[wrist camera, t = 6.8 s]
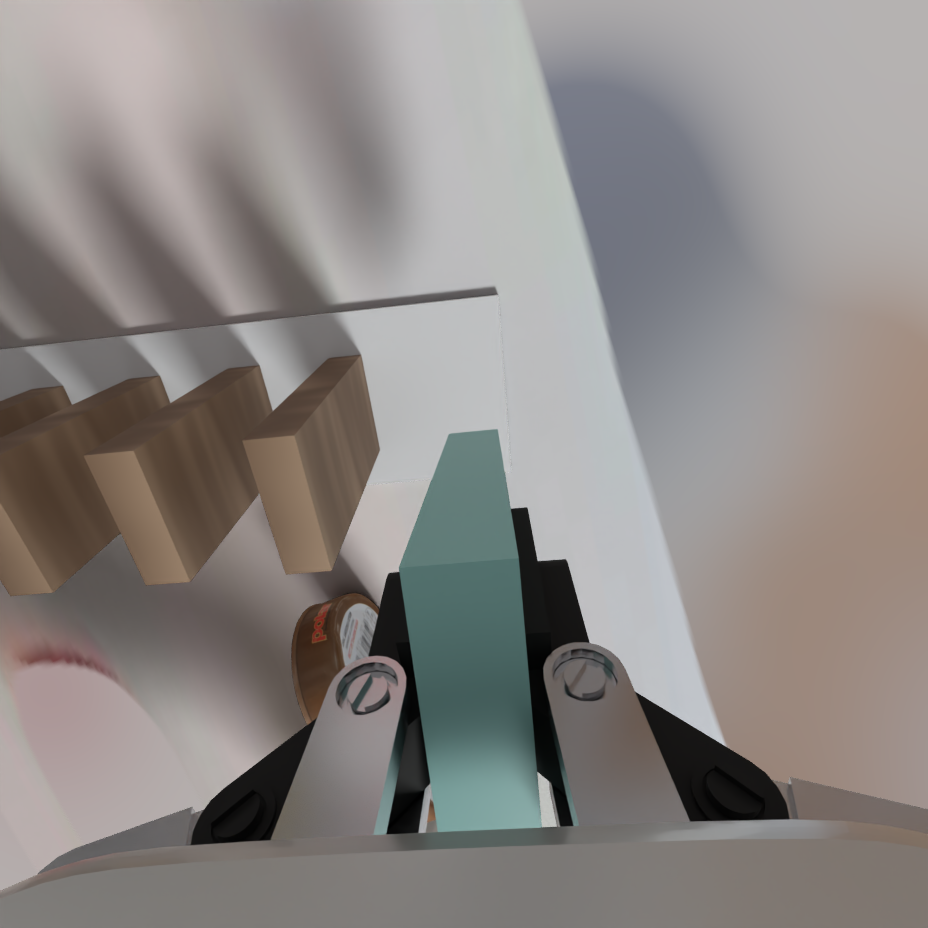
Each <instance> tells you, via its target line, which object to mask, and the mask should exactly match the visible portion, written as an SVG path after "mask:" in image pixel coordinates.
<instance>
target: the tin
mask: <svg viewBox="0 0 928 928" xmlns="http://www.w3.org/2000/svg"><path fill="white" fill-rule="evenodd" d="M378 613H379V609H378V607H377V606H376V605H375V604H374V603H373V602H372V601H371V600H369V599H368V598H367V597H365V596H363V595H361V594H356V593H351V594H346V595H343V596H340V597H337V598H334V599H332V600H329V601H327V602H325V603H322V604H321V603H320V604H314V605H312V606H310V607H309V608H307V609H306V610H305V611H304V612H303V613H302V615H301V616H300V618H299V620H298V622H297V625H296V627H295V631H294V635H293V640H292V653H291V660H292V677H293V683H294V688H295V692H296V696H297V700H298V703H299V706H300V709H301V712H302V714H303V717H304V719H305V722H306V724H307V725H308V724H309V723H311V722H312V721H313V720H315V719H316V718H317V717H318V714H319V712H320V709H321V706H322V704H323V701H324V699H325V696H326V693H327V691H328V688H329V686H330V684H331V683H332V681H333V679H334V677H335V676H336V675H337V674H338V673H339V672H340V671H341V670H342V669H343V668H344V667H346V666H347V665H349V664H351V663H352V662H354V661H356V660H359V659H362V658H364V657H368V655H369V651H370V647H371V643H372V638H373V634H374V630H375V626H376V621H377V617H378ZM430 785H431V783H430ZM434 820H436V817H435V810H434V803H433V796H432V790H431V797H430V804H429V811H428V819H427V823H428V822H431V821H434Z"/></svg>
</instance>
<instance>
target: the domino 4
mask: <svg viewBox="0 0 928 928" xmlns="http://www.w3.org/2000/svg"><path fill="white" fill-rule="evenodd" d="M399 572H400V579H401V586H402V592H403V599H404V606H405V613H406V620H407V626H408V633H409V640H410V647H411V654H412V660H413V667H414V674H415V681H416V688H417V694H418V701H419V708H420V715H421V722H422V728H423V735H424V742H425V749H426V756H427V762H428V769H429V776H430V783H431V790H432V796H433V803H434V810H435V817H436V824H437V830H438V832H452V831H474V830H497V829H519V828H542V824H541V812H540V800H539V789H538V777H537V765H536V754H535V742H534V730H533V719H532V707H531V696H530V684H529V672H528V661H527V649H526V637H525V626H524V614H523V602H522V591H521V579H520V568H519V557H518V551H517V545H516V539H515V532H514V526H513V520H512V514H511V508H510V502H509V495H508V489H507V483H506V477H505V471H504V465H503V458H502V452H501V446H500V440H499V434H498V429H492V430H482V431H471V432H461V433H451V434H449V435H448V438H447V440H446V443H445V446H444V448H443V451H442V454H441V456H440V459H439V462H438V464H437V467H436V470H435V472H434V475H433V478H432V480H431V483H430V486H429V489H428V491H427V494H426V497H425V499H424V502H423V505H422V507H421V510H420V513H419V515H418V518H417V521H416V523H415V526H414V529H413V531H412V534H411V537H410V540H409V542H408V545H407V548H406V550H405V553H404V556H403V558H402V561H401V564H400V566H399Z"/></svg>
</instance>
